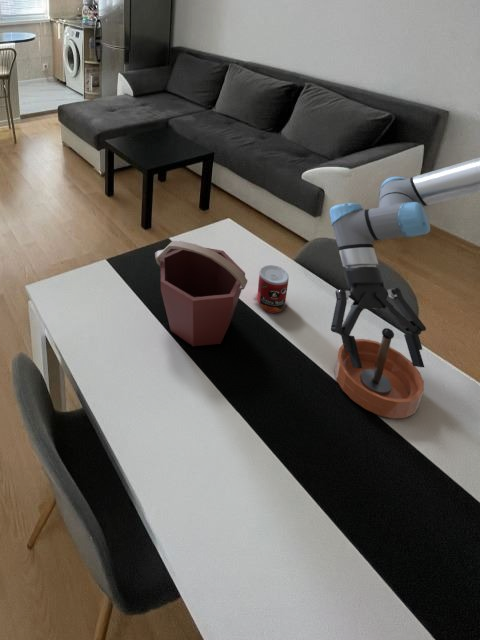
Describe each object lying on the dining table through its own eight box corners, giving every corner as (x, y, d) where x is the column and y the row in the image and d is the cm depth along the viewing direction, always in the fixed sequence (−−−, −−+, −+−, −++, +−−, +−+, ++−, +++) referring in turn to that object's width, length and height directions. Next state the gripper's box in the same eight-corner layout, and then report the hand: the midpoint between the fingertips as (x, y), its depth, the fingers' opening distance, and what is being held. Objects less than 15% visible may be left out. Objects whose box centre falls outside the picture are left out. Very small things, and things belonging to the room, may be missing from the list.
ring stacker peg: (385, 375, 102) (400, 322, 96) (394, 398, 97) (410, 343, 91) (357, 370, 104) (369, 317, 98) (363, 392, 99) (377, 337, 93)
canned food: (257, 311, 124) (260, 281, 120) (255, 292, 131) (258, 263, 127) (286, 315, 122) (290, 285, 118) (282, 296, 129) (286, 266, 125)
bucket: (140, 319, 125) (138, 249, 115) (185, 281, 138) (187, 215, 129) (214, 372, 107) (219, 294, 98) (258, 322, 120) (265, 250, 111)
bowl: (403, 364, 105) (408, 346, 103) (430, 429, 91) (436, 410, 89) (328, 350, 111) (331, 333, 108) (342, 409, 96) (346, 391, 94)
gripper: (404, 267, 106) (434, 364, 98) (302, 270, 108) (323, 366, 100) (424, 264, 100) (458, 368, 91) (315, 267, 101) (339, 370, 93)
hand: (388, 367), depth 95 cm, fingers open, 12 cm apart
